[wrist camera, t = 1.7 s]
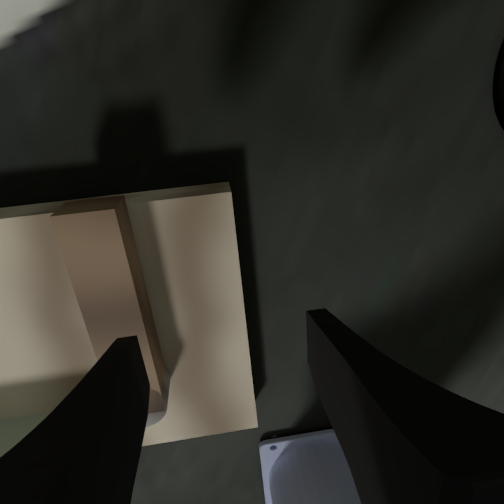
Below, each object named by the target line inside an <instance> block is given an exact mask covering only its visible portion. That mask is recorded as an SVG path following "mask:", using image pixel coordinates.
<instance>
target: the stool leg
mask: <svg viewBox="0 0 504 504" xmlns="http://www.w3.org/2000/svg"><path fill="white" fill-rule="evenodd" d="M49 217H50V220H51V223H52V226H53V229H54V232H55V235H56V238H57V241H58V244H59V247H60V250H61V253H62V256H63V259H64V262H65V265H66V268H67V271H68V274H69V277H70V280H71V283H72V286H73V289H74V292H75V295H76V298H77V301H78V304H79V307H80V310H81V313H82V316H83V319H84V322H85V325H86V328H87V331H88V334H89V337H90V340H91V343H92V346H93V349H94V352H95V355H96V358H97V361H98V360H99V359H100V357H101V356H102V355H103V354H104V353H105V352H106V350H107V349H108V348H109V347H110V346H111V344H112V343H113V342H114V341H115V340H116V339H117V338H121V337H128V336H135V335H137V338H138V341H139V345H140V349H141V353H142V356H143V360H144V364H145V368H146V371H147V375H148V379H149V383H150V396H149V409H148V418H147V423H146V427H148V426H151V425H154V424H156V423H157V422H159V421H160V420H161V419H162V418H163V417H164V416H165V414H166V412H167V405H168V396H169V387H170V375H169V372H168V370H167V369H166V368H165V365H164V361H163V356H162V352H161V348H160V344H159V340H158V335H157V331H156V327H155V323H154V319H153V314H152V310H151V306H150V302H149V298H148V293H147V289H146V285H145V281H144V277H143V272H142V268H141V264H140V260H139V256H138V251H137V247H136V243H135V239H134V235H133V230H132V226H131V222H130V218H129V214H128V209H127V205H126V201H125V197H124V195H121V196H113V197H104V198H95V199H87V200H78V201H69V202H66V203H64V204H63V205H62V206H61V207H60V208H59V209H57V210H56V211H55V212H54V213H53V214H52V215H51V216H49Z"/></svg>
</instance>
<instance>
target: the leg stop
mask: <svg viewBox="0 0 504 504" xmlns="http://www.w3.org/2000/svg"><path fill="white" fill-rule="evenodd" d="M50 413H51V412H50ZM50 413H43V414H37V415H30V416H24V417H18V418H11V419H5V420H0V457H1V456H3V455H4V454H5V453H6V452H8V451H9V450H10V449H11V448H13V447H14V446H15V445H16V444H17V443H18V442H20V441H21V440H22V439H23V438H24V437H25V436H26V435H27V434H28V433H30V432H31V431H32V430H33V429H34V428H35V427H36V426H37V425H38V424H39V423H40V422H41V421H43V420H44V419H45V418H46V417H47V416H48V415H49V414H50Z"/></svg>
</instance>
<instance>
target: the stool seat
mask: <svg viewBox="0 0 504 504" xmlns="http://www.w3.org/2000/svg"><path fill="white" fill-rule="evenodd" d="M121 195H124V197H125V201H126V205H127V209H128V214H129V218H130V222H131V226H132V230H133V235H134V239H135V243H136V247H137V251H138V256H139V260H140V264H141V268H142V272H143V277H144V281H145V285H146V289H147V293H148V298H149V302H150V306H151V310H152V314H153V319H154V323H155V327H156V331H157V335H158V340H159V344H160V348H161V352H162V356H163V361H164V365H165V368H166V369H167V370H168V372H169V375H170V387H169V396H168V405H167V412H166V414H165V416H164V417H163V418H162V419H161V420H160V421H159V422H157V423H156V424H154V425H151V426H148V427H146V428H145V433H144V438H143V443H142V446H147V445H153V444H159V443H165V442H171V441H177V440H183V439H189V438H195V437H201V436H207V435H213V434H220V433H226V432H232V431H238V430H244V429H250V428H256V427H258V424H257V415H256V406H255V397H254V388H253V380H252V371H251V362H250V353H249V344H248V335H247V326H246V317H245V309H244V300H243V291H242V282H241V273H240V264H239V255H238V246H237V238H236V229H235V220H234V211H233V202H232V193H231V189H230V185H229V182H221V183H212V184H204V185H195V186H186V187H178V188H169V189H160V190H152V191H143V192H134V193H126V194H117V195H108V196H100V197H91V198H82V199H74V200H65V201H56V202H48V203H39V204H30V205H22V206H13V207H4V208H0V420H5V419H11V418H18V417H24V416H30V415H37V414H43V413H50V412H52V411H53V410H54V409H55V408H56V407H57V406H58V404H59V403H60V402H61V401H62V400H63V399H64V398H65V397H66V396H67V395H68V394H69V393H70V392H71V391H72V390H73V389H74V388H75V387H76V385H77V384H78V383H79V382H80V381H81V380H82V379H83V377H84V376H85V375H86V374H87V373H88V372H89V371H90V369H91V368H92V367H93V366H94V365H95V363H96V362H97V358H96V355H95V352H94V349H93V346H92V343H91V340H90V337H89V334H88V331H87V328H86V325H85V322H84V319H83V316H82V313H81V310H80V307H79V304H78V301H77V298H76V295H75V292H74V289H73V286H72V283H71V280H70V277H69V274H68V271H67V268H66V265H65V262H64V259H63V256H62V253H61V250H60V247H59V244H58V241H57V238H56V235H55V232H54V229H53V226H52V223H51V220H50V217H49V216H51V215H52V214H53V213H54V212H55V211H56V210H57V209H59V208H60V207H61V206H62V205H63V204H64V203H66V202H69V201H78V200H87V199H95V198H104V197H113V196H121Z"/></svg>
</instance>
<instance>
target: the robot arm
mask: <svg viewBox="0 0 504 504" xmlns="http://www.w3.org/2000/svg"><path fill="white" fill-rule="evenodd" d="M306 317H307V351H308V364H309V367H310V371H311V374H312V377H313V381H314V384H315V387H316V390H317V393H318V395H319V397H320V400H321V402H322V404H323V407H324V409H325V411H326V414H327V416H328V418H329V421H330V423H331V425H332V427H333V429H328V430H322V431H316V432H310V433H304V434H298V435H292V436H286V437H280V438H274V439H268V440H264V441H262V442H260V444H259V450H260V459H261V468H262V476H263V485H264V494H265V503H266V504H504V414H503V413H500V412H498V411H495V410H492V409H490V408H487V407H485V406H482V405H480V404H477V403H475V402H473V401H470V400H468V399H466V398H463V397H461V396H459V395H457V394H455V393H453V392H450V391H448V390H446V389H444V388H442V387H440V386H438V385H436V384H434V383H432V382H430V381H428V380H426V379H424V378H423V377H421V376H419V375H417V374H415V373H414V372H412V371H410V370H408V369H407V368H405V367H403V366H402V365H400V364H398V363H397V362H395V361H394V360H392V359H391V358H389V357H388V356H386V355H385V354H383V353H382V352H380V351H379V350H377V349H376V348H374V347H373V346H372V345H370V344H369V343H368V342H366V341H365V340H364V339H362V338H361V337H360V336H358V335H357V334H356V333H355V332H353V331H352V330H351V329H350V328H348V327H347V326H346V325H345V324H343V323H342V322H341V321H340V320H339V319H337V318H336V317H335V316H334V315H333V314H331V313H330V312H329V311H328V310H326V309H325V308H324V309H317V310H310V311H306ZM149 396H150V383H149V379H148V375H147V371H146V368H145V364H144V360H143V356H142V353H141V349H140V345H139V341H138V338H137V335H135V336H128V337H121V338H117V339H116V340H115V341H114V342H113V343H112V344H111V346H110V347H109V348H108V349H107V350H106V352H105V353H104V354H103V355H102V356H101V357H100V359H99V360H98V361H97V362H96V363H95V365H94V366H93V367H92V368H91V369H90V371H89V372H88V373H87V374H86V375H85V376H84V377H83V379H82V380H81V381H80V382H79V383H78V384H77V385H76V387H75V388H74V389H73V390H72V391H71V392H70V393H69V394H68V395H67V396H66V397H65V398H64V399H63V400H62V401H61V402H60V403H59V404H58V406H57V407H56V408H55V409H54V410H53V411H52V412H51V413H50V414H49V415H48V416H47V417H46V418H45V419H44V420H43V421H41V422H40V423H39V424H38V425H37V426H36V427H35V428H34V429H33V430H32V431H31V432H30V433H28V434H27V435H26V436H25V437H24V438H23V439H22V440H21V441H20V442H18V443H17V444H16V445H15V446H14V447H13V448H11V449H10V450H9V451H8V452H6V453H5V454H4V455H3V456H1V457H0V504H130V503H131V497H132V491H133V486H134V481H135V477H136V472H137V467H138V462H139V458H140V453H141V448H142V443H143V438H144V433H145V428H146V423H147V418H148V409H149Z"/></svg>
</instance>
